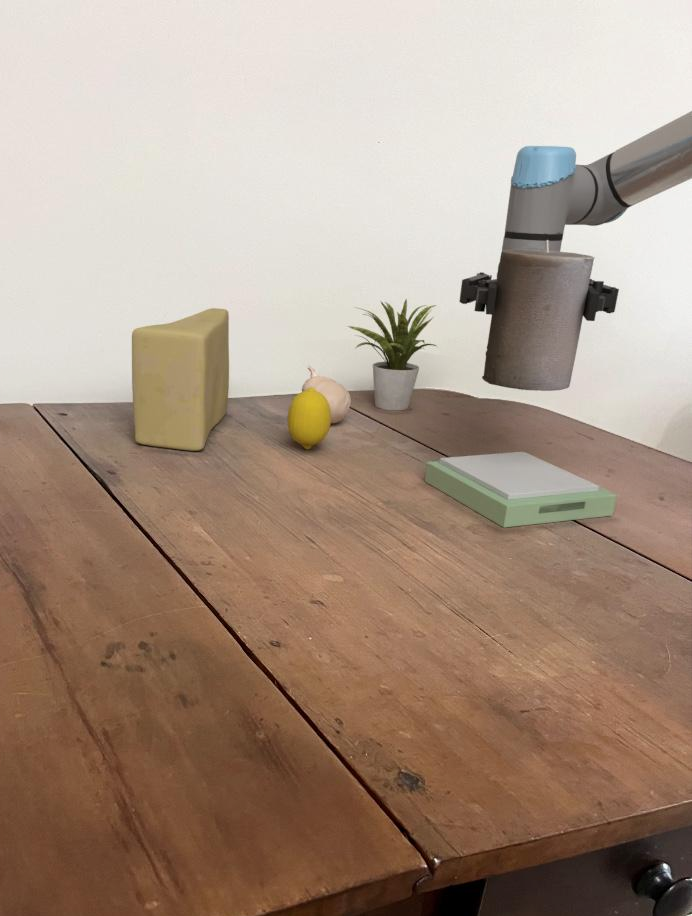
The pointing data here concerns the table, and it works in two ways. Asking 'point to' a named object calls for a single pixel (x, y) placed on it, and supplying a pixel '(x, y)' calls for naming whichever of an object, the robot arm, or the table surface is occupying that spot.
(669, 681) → the table surface
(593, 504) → the scale
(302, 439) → the lemon
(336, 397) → the garlic bulb
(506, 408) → the table surface
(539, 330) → the pillar candle
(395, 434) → the table surface
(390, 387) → the house plant
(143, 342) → the cheese
